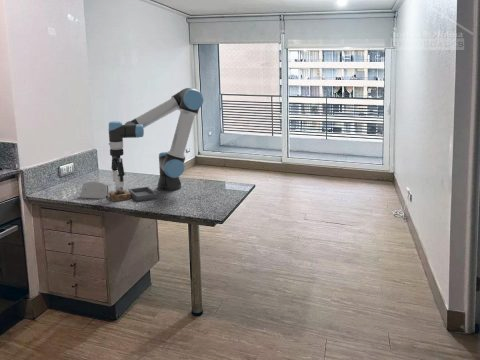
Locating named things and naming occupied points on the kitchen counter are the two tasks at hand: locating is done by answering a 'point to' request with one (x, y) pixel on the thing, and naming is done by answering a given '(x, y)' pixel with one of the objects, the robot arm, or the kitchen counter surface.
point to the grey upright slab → (94, 190)
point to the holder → (119, 196)
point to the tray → (143, 194)
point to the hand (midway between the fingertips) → (118, 184)
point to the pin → (118, 189)
